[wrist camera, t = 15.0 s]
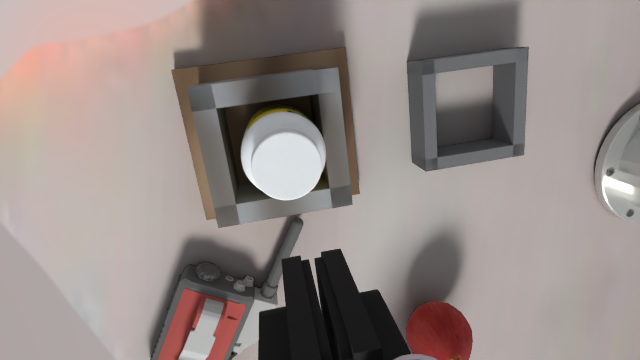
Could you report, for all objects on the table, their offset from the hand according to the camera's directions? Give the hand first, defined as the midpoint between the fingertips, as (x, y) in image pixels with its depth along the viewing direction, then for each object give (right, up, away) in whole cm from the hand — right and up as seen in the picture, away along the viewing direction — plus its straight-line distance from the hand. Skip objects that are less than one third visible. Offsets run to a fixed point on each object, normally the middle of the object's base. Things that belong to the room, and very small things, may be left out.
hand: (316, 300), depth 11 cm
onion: (+10, -10, +28) cm, 32 cm away
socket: (-4, +7, +21) cm, 22 cm away
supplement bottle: (-3, +7, +20) cm, 21 cm away
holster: (+12, +10, +22) cm, 27 cm away
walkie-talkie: (-9, -7, +25) cm, 28 cm away
